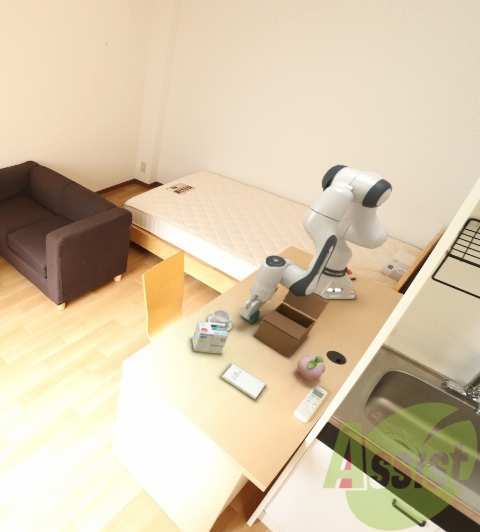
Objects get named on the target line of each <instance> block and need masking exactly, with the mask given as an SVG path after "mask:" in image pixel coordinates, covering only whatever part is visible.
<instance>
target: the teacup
mask: <svg viewBox="0 0 480 532" xmlns="http://www.w3.org/2000/svg"><path fill="white" fill-rule="evenodd" d="M231 321H232V314H230V312H229V311H227V310H224V309H216V310H214V311H213V313H212V314H211V315H209V316H208V318H207V322H212V323H225V327H226V330H227V332H228V331H230V330H231V329H232V328H233V323H232V322H231Z"/></svg>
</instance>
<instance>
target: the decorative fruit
mask: <svg viewBox="0 0 480 532" xmlns="http://www.w3.org/2000/svg"><path fill="white" fill-rule="evenodd" d="M296 363H297V364H296V367H297V371H298V373H299V375H300V376H301V377H303V378H304V379H306V380H310V381H314V380H318V379H320V378H321V377H322V375H323V374H324V372H326V364H325V362H324V357H323V356H319V355H317V356H315V355H311V354H306V355H303V356H302V357H300V358H299V359H298V361H297V362H296Z"/></svg>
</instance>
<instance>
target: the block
mask: <svg viewBox="0 0 480 532" xmlns="http://www.w3.org/2000/svg"><path fill="white" fill-rule="evenodd" d="M260 314H261V310H260V309H259V310H257V311H256V312H255V313H254V314H252V315H251V318H250V319H249V320H247V319H246V318H244V317H243V316H241V317H242V319H243V320H246V321H247V322H249V323H250V324H253V323H255V321H256V320H258V318H259V316H260Z"/></svg>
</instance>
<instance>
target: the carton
mask: <svg viewBox="0 0 480 532" xmlns="http://www.w3.org/2000/svg"><path fill="white" fill-rule="evenodd" d="M316 322H317V320H316V319H314V318H312V317H310V316H308V315H306V314H305V313H303V312H301V311H299V310H297V309H295V308H294V307H292V306H290V305H288V304H286V303H284V302H281V303H280V304H279V305H277V306H276V307H275V308H274V309H272V310H271V311H270V312H269V313H268V314H267V315H266V316H264V317H263V318H262V320H261V321H260V324H259V326H258V328H257V330H256V332H255V334H254V337H255V338H257V339H258V340H260V341H262V342H263V343H264V344H266V345H268V346H269V347H271V348H272V349H274V350H276V352H279V353H280V354H282V356H284V357H286V358H289V357H290V356H291V355H292V354H293V353H294V351H295V350H296V349H297V348H298V347H299V346H300V345H301V344H302V343H303V341H304V340H305V339H306V338H307V337H308V335H309V334H310V332H311V330H312V329H313V327H314V325H315V324H316Z"/></svg>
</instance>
